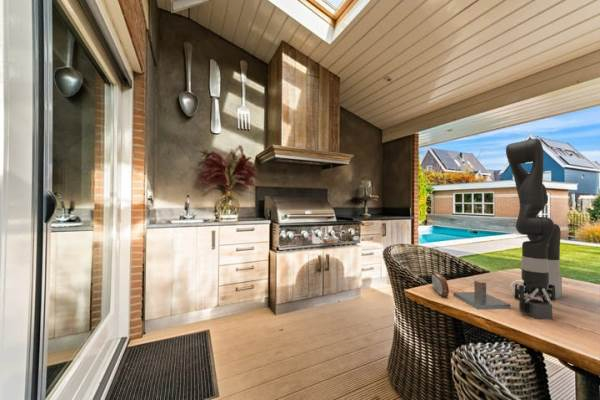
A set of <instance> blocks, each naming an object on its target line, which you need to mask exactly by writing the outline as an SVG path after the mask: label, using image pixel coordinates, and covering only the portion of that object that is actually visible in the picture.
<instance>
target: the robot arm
mask: <svg viewBox="0 0 600 400" xmlns="http://www.w3.org/2000/svg"><path fill="white" fill-rule="evenodd" d="M505 154H506V158H507V161H508V164H509V166H510V170H511V172H512V176H513V179H514V182H515V187H516V192H517V196H518V200H519V201H518V202H519V213H518V216H517V220H516V222H515V229H516V231H517V232H518V233H519V234H520V235H525V236H526V237H527V238H528V240H525V241H523V242H522V244H521V251H522V252H521V261H520V263H521V264H520V265H521V271H520V272H521V279H522V280H523V281H524V283H522V284H523V285H519V284H520V283H519V284H518V283H516V284H514V290H515V294H514V300H517V301H518V302H519V301H520V309H521V311H522V312H525V313H529V304H528V302H529V300H530V299H532V298H535V297H539V298H540V300H543V301H544V302H546V303H549V304H552V301H556V300H558V299H560V298H563V281H562V280H563V278H562V275H561V273H560V272H561V267H560V265H561V263H560V259H561V258H560V255H561V235H562V233H561V232H562V231H561V227H560V226H559V224H557V223H554V221H553V219H551V218H550V217H547V216H538V215H539V214H540V212H541V211H544V210H545V206H546V205H547V203H548V201H549V197H548V192H547V188H546V185H545V184H544V183H543V181H544V147H543V144H542V142H541V140H540V139H539V138H530V139H526V140H521V141H516V142H511V143H509V144H507V145H506V147H505ZM527 163H532V166H531V169H530V171H529V172H528V171H526V170H525V169H524V167H523V166H522V164H527ZM526 293H527V294H526ZM519 295H520V297H519ZM525 297H526V299H524V298H525ZM522 312H521V313H522Z"/></svg>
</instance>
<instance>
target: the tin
mask: <svg viewBox="0 0 600 400" xmlns="http://www.w3.org/2000/svg"><path fill="white" fill-rule="evenodd" d="M431 284H432V288H433V290H435V292H436V293H437V294H438V295H439V296H440V297H448V296H449V292H450V291H449V290H450V289H449V288H450V287H449V284H448V281H447V279H446V277H444V275H442V274H441V273H439V272H433V273H432V274H431Z"/></svg>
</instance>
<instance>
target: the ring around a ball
mask: <svg viewBox="0 0 600 400" xmlns="http://www.w3.org/2000/svg"><path fill="white" fill-rule="evenodd" d="M518 283H519V285H523V283H524V281H523V280H521V279H517V280H514V281H512V282H511V284H510V290H511V292H512V294H514V295H515V284H518ZM526 294H527V293H526ZM527 295H528V294H527ZM519 297H520V295H519ZM525 298H526V297H525Z"/></svg>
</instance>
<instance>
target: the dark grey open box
mask: <svg viewBox="0 0 600 400" xmlns="http://www.w3.org/2000/svg"><path fill="white" fill-rule="evenodd" d="M524 299H526V298H524ZM518 302H519V303H518V307H519V308H518V311H519V312H520V313H522V314H524V315H526V316H529V317H531V318H532V319H535V320H541V319H543V320H546V319H548V320H549V319H553V304H552V303H550V304H549V303H546V302H544V301H543V300H542V299H538V298H535V297H533V298H532V299H530V300H529V302H528V304H529V313H525V312H522V311H521V309H520V301H519V300H518Z"/></svg>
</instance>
